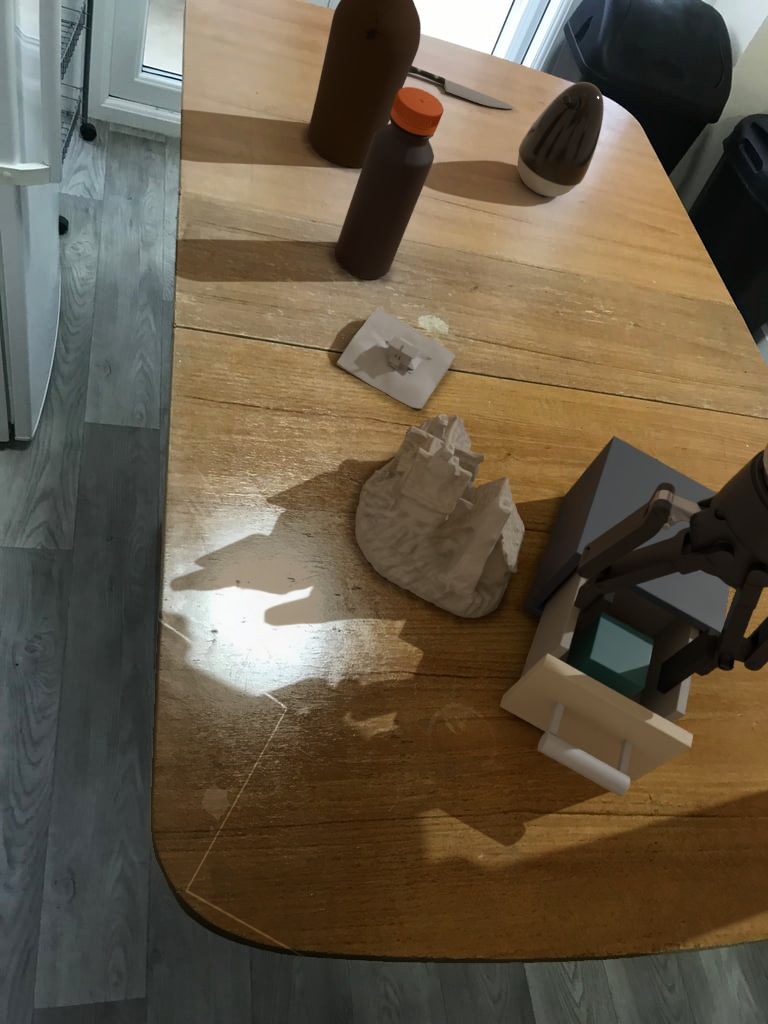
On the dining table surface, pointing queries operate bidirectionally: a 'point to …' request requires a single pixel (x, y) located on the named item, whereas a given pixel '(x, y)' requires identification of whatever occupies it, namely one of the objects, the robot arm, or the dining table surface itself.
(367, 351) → the grey tile
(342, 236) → the bottle
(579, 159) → the two-tone egg figure
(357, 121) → the olive oil
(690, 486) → the cabinet
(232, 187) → the dining table surface
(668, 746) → the drawer
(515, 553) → the castle ruin model
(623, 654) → the block
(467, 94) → the chef's knife
